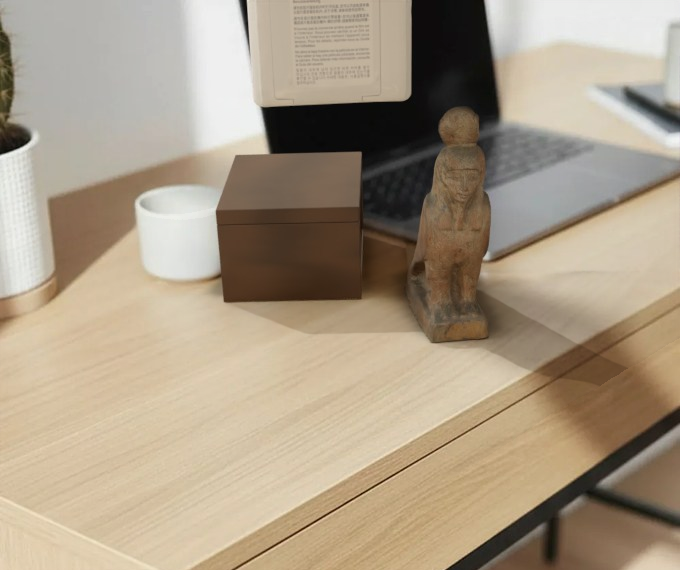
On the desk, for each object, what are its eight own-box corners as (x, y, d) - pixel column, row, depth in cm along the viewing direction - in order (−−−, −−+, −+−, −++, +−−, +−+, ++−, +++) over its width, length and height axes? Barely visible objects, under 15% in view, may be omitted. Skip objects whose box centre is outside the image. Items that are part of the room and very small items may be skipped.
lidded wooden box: (363, 235, 108) (361, 151, 104) (361, 299, 95) (359, 206, 91) (241, 237, 108) (235, 154, 104) (223, 302, 96) (215, 210, 92)
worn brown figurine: (487, 368, 90) (509, 143, 77) (414, 370, 90) (424, 146, 77) (469, 279, 98) (486, 64, 86) (402, 281, 98) (409, 66, 85)
